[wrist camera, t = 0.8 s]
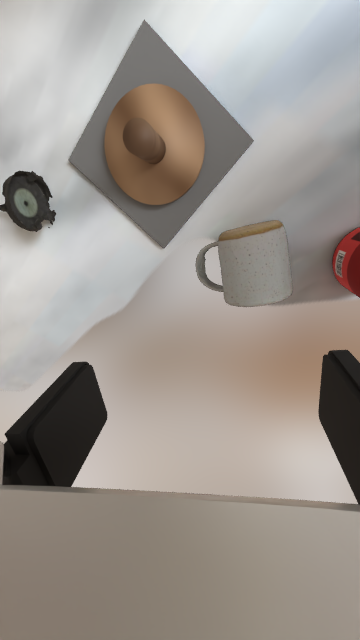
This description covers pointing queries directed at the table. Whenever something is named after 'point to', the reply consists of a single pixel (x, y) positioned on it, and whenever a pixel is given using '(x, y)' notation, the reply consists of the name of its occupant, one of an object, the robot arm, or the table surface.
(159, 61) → the mat
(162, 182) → the lid
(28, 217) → the artificial flower
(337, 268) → the canned food
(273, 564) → the robot arm
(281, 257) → the ceramic mug
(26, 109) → the table surface
